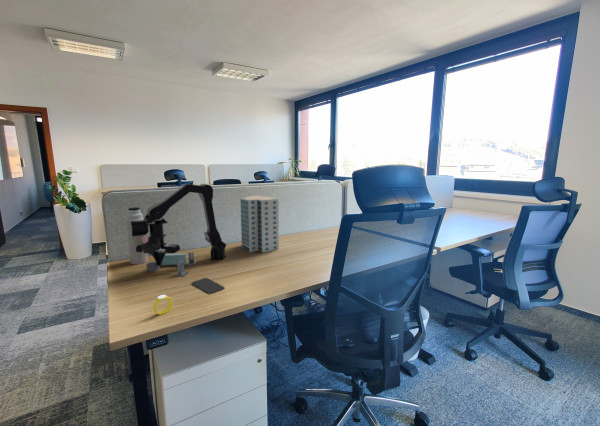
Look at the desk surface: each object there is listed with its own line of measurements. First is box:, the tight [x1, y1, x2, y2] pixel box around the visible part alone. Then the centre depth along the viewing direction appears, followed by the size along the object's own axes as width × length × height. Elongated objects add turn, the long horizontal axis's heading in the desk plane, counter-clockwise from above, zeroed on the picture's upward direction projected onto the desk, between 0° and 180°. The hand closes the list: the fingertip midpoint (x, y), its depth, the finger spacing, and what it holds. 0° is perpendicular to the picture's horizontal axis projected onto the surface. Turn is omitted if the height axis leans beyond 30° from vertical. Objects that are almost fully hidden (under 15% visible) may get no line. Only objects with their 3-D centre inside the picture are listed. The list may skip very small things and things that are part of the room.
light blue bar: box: [160, 253, 188, 266], centre depth 141 cm, size 2×12×6 cm, turn 99°
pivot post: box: [186, 251, 197, 266], centre depth 143 cm, size 4×4×6 cm
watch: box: [152, 294, 173, 316], centre depth 96 cm, size 6×3×6 cm, turn 146°
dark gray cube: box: [146, 260, 161, 273], centre depth 135 cm, size 4×4×4 cm
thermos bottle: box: [125, 206, 149, 265], centre depth 144 cm, size 8×8×28 cm
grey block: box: [176, 261, 189, 277], centre depth 129 cm, size 3×4×6 cm
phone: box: [191, 277, 226, 295], centre depth 118 cm, size 7×1×15 cm
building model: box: [239, 195, 280, 253], centre depth 169 cm, size 20×16×30 cm
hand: (159, 265), depth 134 cm, fingers closed
